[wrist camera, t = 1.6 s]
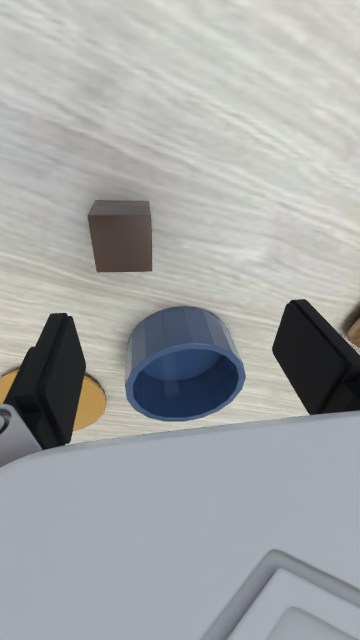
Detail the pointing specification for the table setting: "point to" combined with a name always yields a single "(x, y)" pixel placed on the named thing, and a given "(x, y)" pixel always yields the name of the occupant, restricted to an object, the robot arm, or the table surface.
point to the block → (121, 235)
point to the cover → (88, 405)
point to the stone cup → (354, 333)
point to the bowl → (182, 365)
